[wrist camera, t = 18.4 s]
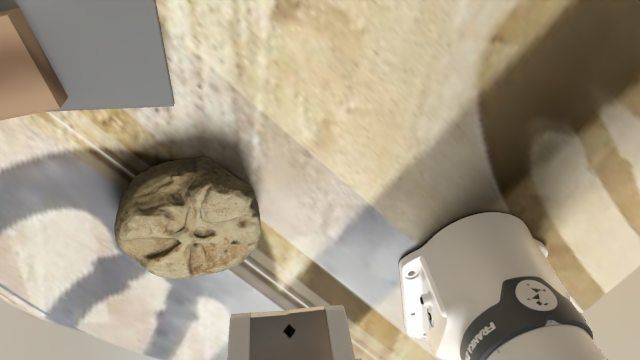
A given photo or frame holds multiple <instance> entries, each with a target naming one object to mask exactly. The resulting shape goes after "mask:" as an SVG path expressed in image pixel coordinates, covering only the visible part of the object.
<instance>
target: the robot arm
mask: <svg viewBox="0 0 640 360" xmlns="http://www.w3.org/2000/svg"><path fill="white" fill-rule="evenodd" d="M547 256H548V251H547V249H546V247H545V246H544V244H542V243H541V242H539V241H538V240H536V239H534V238H533V237H532V235H531V233H530V231H529V229H528V227H527V226H526V224H525V223H524V222H523V221H522V220H520V219H519V218H517V217H515V216H513V215H510V214H506V213H499V212H488V213H480V214H476V215H472V216H468V217H465V218H463V219H460V220H458V221H456V222H454V223H452V224H450V225H448V226H447V227H445V228H444V229H442V230H441V231H439V232H438V233H437V234H436V235H435V236H433V237H432V238H431V239H430V240H429V241H428V242H427V243H426V244H425V245H424V246H423V247H421V248H420V249H418V250H416V251H414V252H412V253H410V254H408V255H407V256H405V257H404V258H402V259H401V261H400V262H399V271H400V282H401V293H402V303H403V314H404V325H405V330H406V332H407V334H408V335H409V336H412V337H415V338H420V339H428V342H429V344H430V346H431V348H432V350H433V352H434V354H435V355H436V356H437V357H438V358H440V359H442V360H608V359H607V358H606V357H605V356H604V354H603V353H602V352H601V350H600V349H599V348H598V346H597V345H596V344H595V342H594V341H593V334H592V331H591V329H590V328H589V326H588V325H587V323H586V322H585V321H586V320H585V319H584V317H583V316H582V315H581V313H579V312H578V311H577V310H576V308H575V307H574V306H573V304H572V303H571V302H570V297H569V295H568V293H567V291H566V289H565V288H564V286H563V284H562V283H561V281H560V280H559V278H558V276H557V275H556V273H555V271H554V270H553V268H552V267H551V265H550V263H549V262H548V260H547V259H546V257H547ZM227 360H361V359H355V356H354V351H353V347H352V342H351V337H350V332H349V327H348V323H347V318H346V313H345V308H344V307H343V305H338V306H327V307H324V306H322V307H312V308H302V309H292V310H288V311H273V312H256V313H242V314H231V318H230V327H229V343H228V359H227Z"/></svg>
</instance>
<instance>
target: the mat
mask: <svg viewBox="0 0 640 360" xmlns="http://www.w3.org/2000/svg"><path fill="white" fill-rule="evenodd" d="M15 8H20V9H21V11H22V13H23V14H24V16H25V18H26V20H27V22H28V24H29V26H30V27H31V29H32V31H33V33H34V35H35V37H36V38H37V40H38V42H39V44H40V46H41V48H42V49H43V51H44V53H45V55H46V57H47V59H48V60H49V62H50V64H51V66H52V68H53V70H54V72H55V73H56V75H57V77H58V79H59V81H60V83H61V84H62V86H63V88H64V90H65V92H66V94H67V95H68V99H67V100H66V101H65V102H64V104H63V105H62V106H61V108H59V109H54V110H49V111H71V110H95V109H119V108H143V107H166V106H174V98H173V93H172V87H171V82H170V76H169V71H168V66H167V60H166V55H165V50H164V44H163V39H162V34H161V28H160V23H159V17H158V12H157V7H156V1H155V0H0V11H4V10H10V9H15ZM44 112H47V111H44Z"/></svg>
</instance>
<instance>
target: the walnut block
mask: <svg viewBox="0 0 640 360" xmlns="http://www.w3.org/2000/svg"><path fill="white" fill-rule="evenodd" d="M67 99H68V95H67V94H66V92H65V90H64V88H63V86H62V84H61V83H60V81H59V79H58V77H57V75H56V73H55V72H54V70H53V68H52V66H51V64H50V62H49V60H48V59H47V57H46V55H45V53H44V51H43V49H42V48H41V46H40V44H39V42H38V40H37V38H36V37H35V35H34V33H33V31H32V29H31V27H30V26H29V24H28V22H27V20H26V18H25V16H24V14H23V13H22V11H21V9H20V8H15V9H10V10H4V11H0V120H5V119H10V118H15V117H20V116H25V115H30V114H35V113H39V112H44V111H49V110H54V109H59V108H61V106H62V105H63V104H64V102H65V101H66V100H67Z"/></svg>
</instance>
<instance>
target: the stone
mask: <svg viewBox="0 0 640 360" xmlns="http://www.w3.org/2000/svg"><path fill="white" fill-rule="evenodd" d="M260 236H261V223H260V213H259V208H258V203H257V200H256V199H255V196H254V193H253V190H252V188H251V187H250V185H249V184H248V183H247V182H245V181H242V180H240V179H238V178H237V177H235V176H234V175H233V174H231V173H230V172H229V171H227V170H225V169H224V168H222V167H221V166H219V165H218V164H217V163H215V162H214V161H212V160H211V159H209V158H206V157H198V158H195V159H180V160H175V161H170V162H165V163H162V164H160V165H156V166H152V167H151V168H150V169H148V170H147V171H144V172H142V173H140V174H138V175H137V176H135V177H134V178H133V180H132V181H131V183H130V184H129V186H128V187H127V188H126V189H125V191H124V193H123V196H122V198H121V201H120V204H119V208H118V212H117V215H116V222H115V237H116V241H117V244H118V246H119V247H120V248H121V249H122V250H123V251H124V252H125V253H126V254H127V255H128V256H130V257H131V258H133V259H136V261H137V262H139V263H140V264H141V265H142V266H144V267H145V268H146V269H147V270H148V271H149V272H151V273H152V274H155V275H157V276H161V277H166V278H172V279H181V278H191V277H197V276H202V275H206V274H211V273H217V272H221V271H224V270H226V269H229V268H232V267H234V266H236V265H238V264H240V263H241V262H242V261H244V260H245V259H246V258H247V257H248V255H249V254H250V253H251V252H253V251H254V250H255V249H256V247H257V246H258V242H259V239H260Z"/></svg>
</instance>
